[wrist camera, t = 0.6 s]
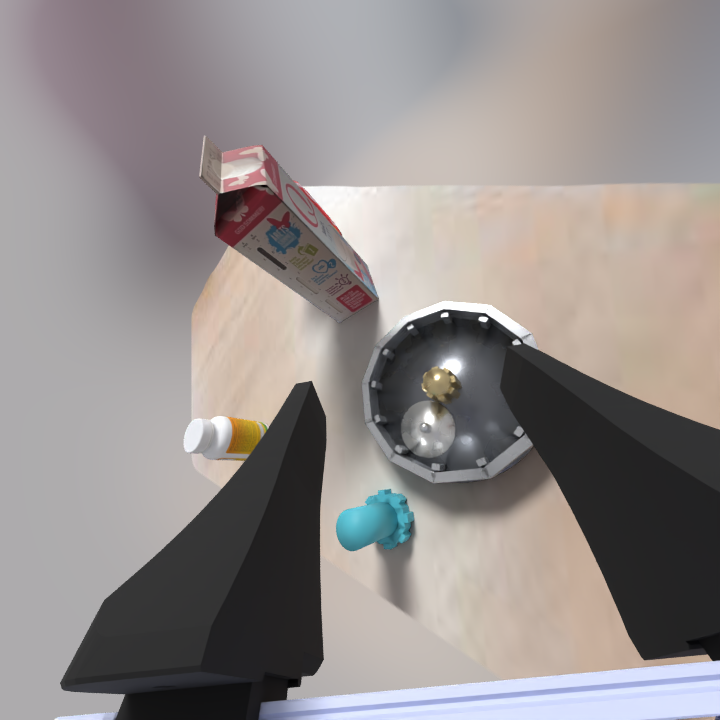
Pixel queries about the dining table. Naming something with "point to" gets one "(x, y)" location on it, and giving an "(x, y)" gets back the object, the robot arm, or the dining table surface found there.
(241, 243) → the juice carton
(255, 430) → the supplement bottle
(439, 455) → the bowl
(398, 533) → the gear
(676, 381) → the dining table surface
